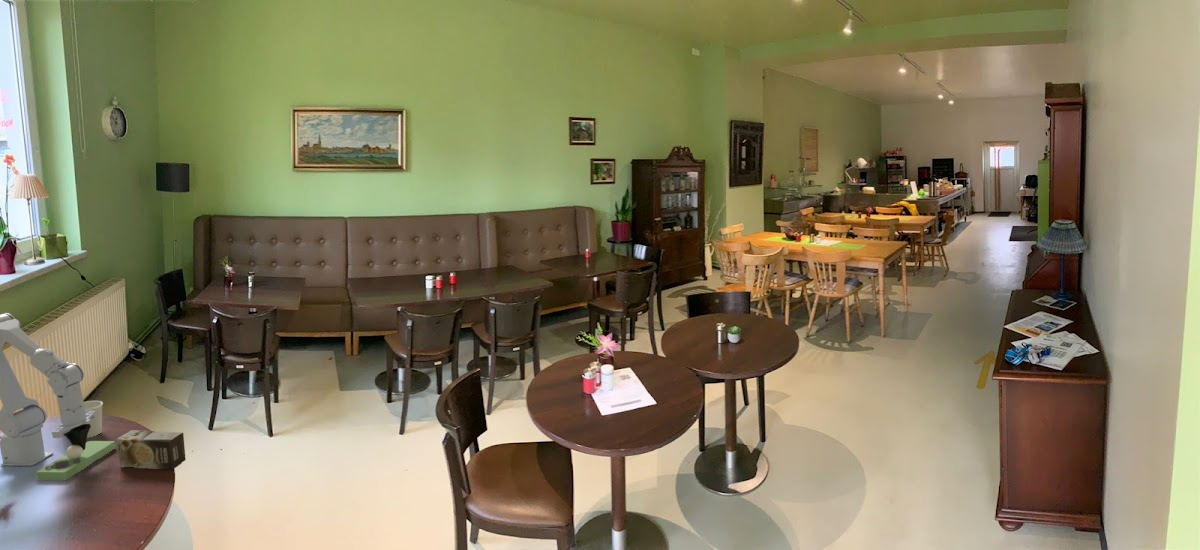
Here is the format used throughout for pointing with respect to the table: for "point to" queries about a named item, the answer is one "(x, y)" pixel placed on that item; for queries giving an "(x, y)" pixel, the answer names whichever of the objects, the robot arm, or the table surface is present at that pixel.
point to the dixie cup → (94, 422)
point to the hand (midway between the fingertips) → (80, 450)
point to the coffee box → (151, 449)
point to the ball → (74, 451)
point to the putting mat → (75, 461)
